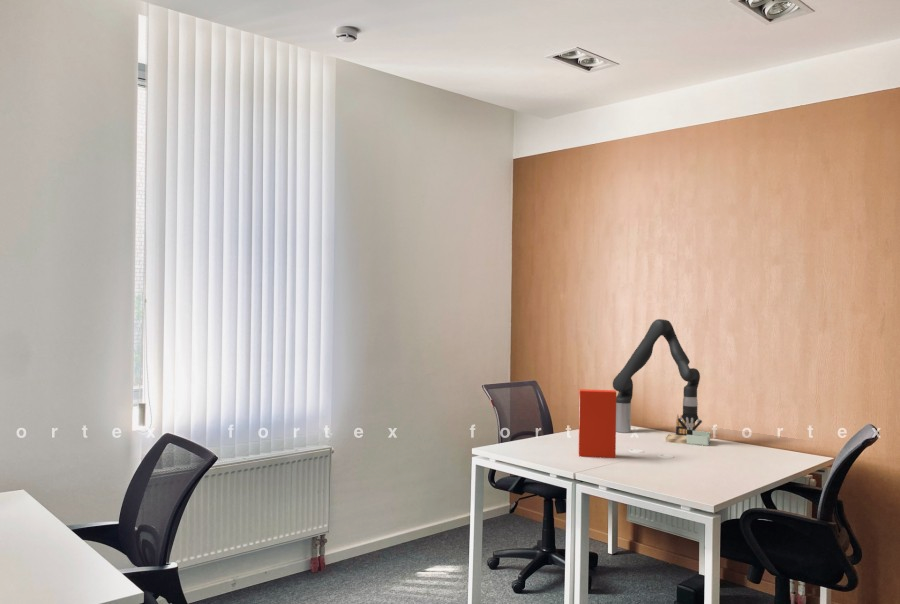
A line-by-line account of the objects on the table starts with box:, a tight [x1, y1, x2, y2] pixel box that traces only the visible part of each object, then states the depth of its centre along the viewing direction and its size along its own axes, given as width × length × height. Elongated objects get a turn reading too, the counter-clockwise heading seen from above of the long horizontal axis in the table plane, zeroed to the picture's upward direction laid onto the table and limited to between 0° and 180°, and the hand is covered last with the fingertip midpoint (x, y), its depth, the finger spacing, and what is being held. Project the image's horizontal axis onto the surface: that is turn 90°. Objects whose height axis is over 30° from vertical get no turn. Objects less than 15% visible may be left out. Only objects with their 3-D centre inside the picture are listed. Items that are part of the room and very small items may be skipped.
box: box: [686, 430, 711, 447], centre depth 364 cm, size 11×16×5 cm
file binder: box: [578, 388, 617, 459], centre depth 326 cm, size 8×17×32 cm, turn 81°
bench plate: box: [665, 433, 688, 445], centre depth 369 cm, size 11×14×2 cm
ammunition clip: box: [675, 414, 696, 436], centre depth 386 cm, size 11×2×12 cm, turn 67°
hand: (689, 436), depth 363 cm, fingers closed
